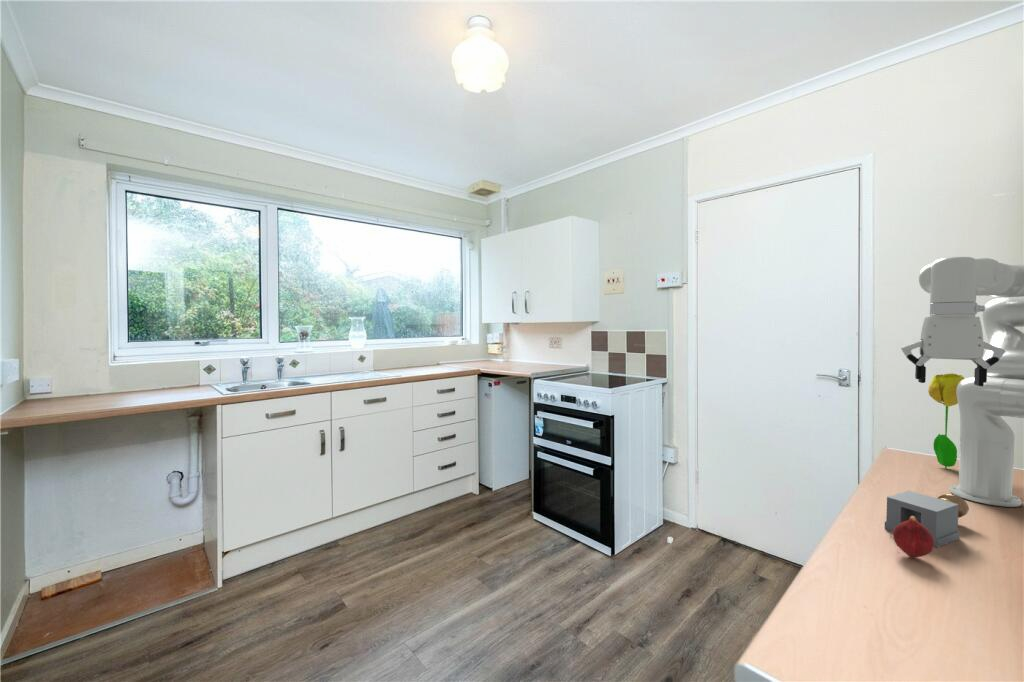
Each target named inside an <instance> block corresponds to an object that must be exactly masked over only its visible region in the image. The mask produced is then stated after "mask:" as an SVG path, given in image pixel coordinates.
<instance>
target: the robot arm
mask: <svg viewBox="0 0 1024 682" xmlns="http://www.w3.org/2000/svg"><path fill="white" fill-rule="evenodd" d="M918 282H919V285H920V288H921V289H922V290H923V291H924V292H926V293H928V294H930V297H929V298H930V300H929V301H930V302H929V316H926V317H924V319H923V321H922V327H921V333H920V338H919V340H918V341H916V342H913V343H910V344H907V345H905V346H902V347H901V348H900V349H901V351H902V352H903V354H904V356H905V358H906V359H907V360H908V361H910V362H911V363H912V364H914V365H915V379H916V380H917V382H918V383H920V384H924V383H926V380H927V379H926V376H927V373H926V372H927V367H926V365H925V364H926V363H927V362H928V361H930V360H931V359H932V360H933V359H934V360H935V359H936V360H937V359H938V360H939V359H940V360H959V361H960V360H963V361H964V360H965V361H969V360H970V361H972V362H973V363H974V364H975V365H976V367H975V368H974V375H973V376H972V377H967V378H964V380H962V381H961V382H960V383H959V384H958V386H957V390H956V394H957V400H958V403H957V405H958V410H959V421H960V422H959V424H960V425H959V426H960V430H959V431H960V434H959V456H958V457H959V459H958V460H959V461H958V462H959V463H958V466H959V467H958V484H952V485H951V486H950V487H949V491H950V493H951V494H955V495H957V496H959V497H961V498H962V499H964V500H969V501H972V502H976V503H980V504H984V505H990V506H996V507H1006V508H1007V507H1008V508H1016V507H1017V508H1018V507H1021V506H1022V503H1023V502H1022V499H1021V498H1019V497H1018V496H1016V495H1013V486H1014V485H1013V482H1014V478H1013V477H1014V458H1015V433H1014V431H1013V429H1012V428H1011V426H1010V425H1009V424H1008V423H1007V422H1006V421H1005V420H1004V419H1003V417H1010V418H1018V419H1024V332H1023V331H1021V330H1019V329H1017V328H1018V327H1019V328H1020V327H1021V328H1024V264H1007V263H1003V262H999V261H998V260H995V259H993V258H988V257H987V258H985V257H983V258H974V257H971V256H953V257H951V256H950V257H944V258H940V259H936V260H935V261H933V263H930V264H927V265H925V266H924V267H922V269H921V270H920V272H919V276H918ZM977 296H979V297H981V296H986V297H996V298H994V299H992V300H989V301H988V302H986V303H985V304H984V305H980V304H978V303H977ZM980 312H982V315H981V316H982V322H981V318H980V316H976V315H977V314H978V313H980ZM982 323H983V326H982ZM983 327H984V331H985V334H986V337H987V340H988V342H986V341H984V333H983ZM918 348H919V355H920V356H918V357H916V356H915V355H914V354H913V353H912V351H913V350H915V349H918Z"/></svg>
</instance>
